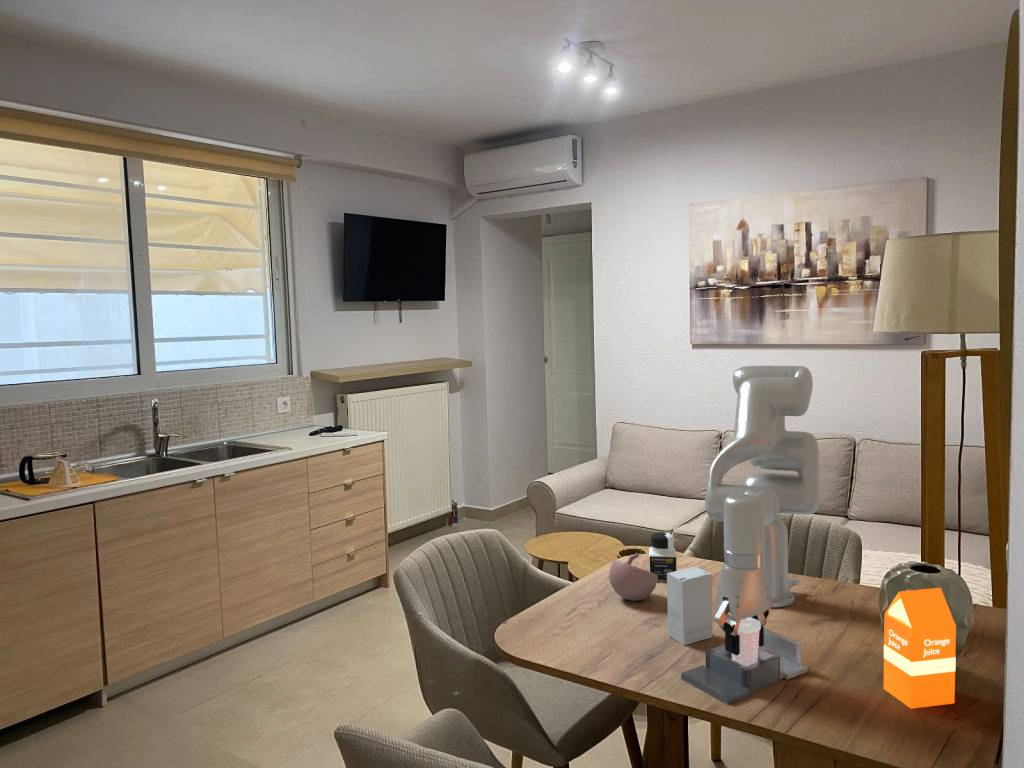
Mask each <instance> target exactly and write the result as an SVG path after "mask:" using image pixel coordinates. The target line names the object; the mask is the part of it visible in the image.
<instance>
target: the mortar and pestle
mask: <svg viewBox="0 0 1024 768" xmlns="http://www.w3.org/2000/svg"><path fill="white" fill-rule="evenodd" d="M639 556H640V554H639V552H638V553H637V552H635V554H630V555H629V557H628V559H627V560H626V562H623V561H620V560H616V559H614V560H613V561H612V563H611V565H610V568H609V572H608V573H609V574H608V575H609V578H608V579H609V583H610V585H611V587H612V589H613V591H614V592H615V593H616V594H617V595H619V596H620V597H621V598H623V599H625V600H628V601H632V602H633V601H635V602H637V601H641V600H644V599H646V598H648V597H649V596H650V595H651V594H652V593H653V592H654V590H655V589H656V586H657V584H658V581H657V580H658V576H657V575H656V574H654V573H652V572H650V571H649V570H645V569H642V568H640V567H637V566H636V565H632V563H633V562H634V560H635V559H638V558H639Z"/></svg>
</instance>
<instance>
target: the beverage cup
mask: <svg viewBox="0 0 1024 768" xmlns="http://www.w3.org/2000/svg"><path fill="white" fill-rule="evenodd" d="M733 622H734V621H732V620H731V622H730V625H731V626H733ZM760 629H761V623H760V622H759V621H758V620H756V619H754V618H746V619H743V620H741V621H740V624H739V628H738V632H737V634H738V635H739V636H740V654H739V655H734V654H732V660H733V661H735V662H738V663H740V664H742V665H744V666H749V665H752V664H754V663H757V661H758V645H759V630H760Z"/></svg>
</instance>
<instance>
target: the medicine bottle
mask: <svg viewBox="0 0 1024 768" xmlns="http://www.w3.org/2000/svg"><path fill="white" fill-rule="evenodd" d="M674 541H675V540H674V535H673V534H671V533H669V532H664V531H661V532H660V531H659V532H654V533H652V534H651V536H650V547H649V548H648V559H649V560H648V571H650V572H652V573H654V574H656V575H657V576H658V580H657V582H667V573H671V572H675V571H678V570H677V568H678V567H677V566H678V565H677V564H678V563H677V551H676V548H675V546H674V543H675V542H674Z"/></svg>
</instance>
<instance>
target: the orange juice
mask: <svg viewBox="0 0 1024 768" xmlns="http://www.w3.org/2000/svg"><path fill="white" fill-rule="evenodd" d="M883 621H884V628H883V629H884V632H883V633H884V634H883V635H884V638H883V639H884V640H883V641H884V642H883V690H885V691H886V692H887V693H889V694H890V695H892V696H893V697H894V698H896V699H897V700H899V701H900V702H902V703H903V704H904V705H905V706H906V707H908V708H909V709H918V708H926V707H934V706H942V705H952V704H955V698H956V697H955V690H956V687H955V685H956V669H957V667H956V662H957V661H956V660H957V659H956V658H957V657H956V649H957V648H956V645H957V643H956V639H957V638H956V635H957V624H956V623H955V620H954V618H953V616H952V613H951V610H950V607H949V605H948V603H947V600H946V598H945V595H944V592H943V590H942V587H936V588H935V587H933V588H925V589H923V588H922V589H916V590H914V589H913V590H903V591H898V593H897V594H896V595H895V597H894V598H893V600H892V601H891V603H890V604H889V606H888V608H887V609H886V611H885V612H884V620H883Z"/></svg>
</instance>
